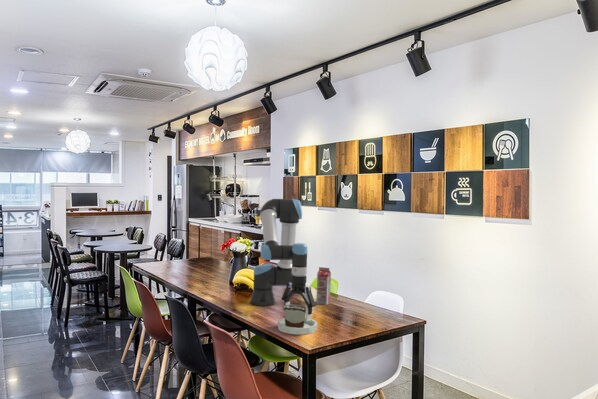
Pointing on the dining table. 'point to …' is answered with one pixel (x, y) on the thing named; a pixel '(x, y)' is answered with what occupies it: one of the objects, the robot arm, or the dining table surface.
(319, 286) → the juice carton
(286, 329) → the round tray
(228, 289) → the dining table surface
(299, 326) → the food container
